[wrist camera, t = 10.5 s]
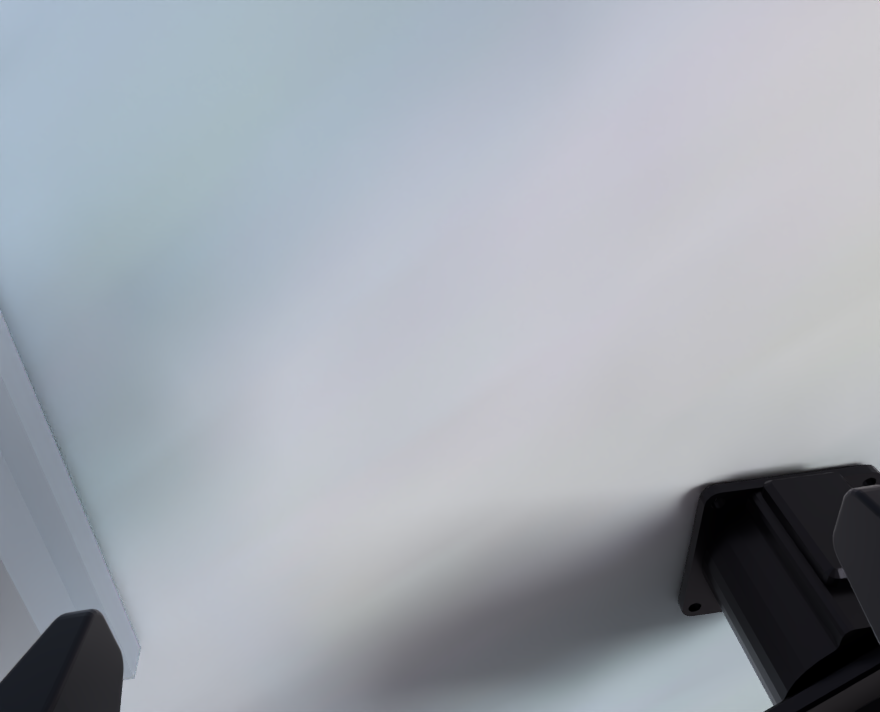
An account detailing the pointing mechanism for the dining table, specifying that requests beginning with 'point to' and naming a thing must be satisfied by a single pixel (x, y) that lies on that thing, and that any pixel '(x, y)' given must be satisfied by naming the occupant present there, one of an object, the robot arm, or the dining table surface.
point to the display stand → (44, 530)
